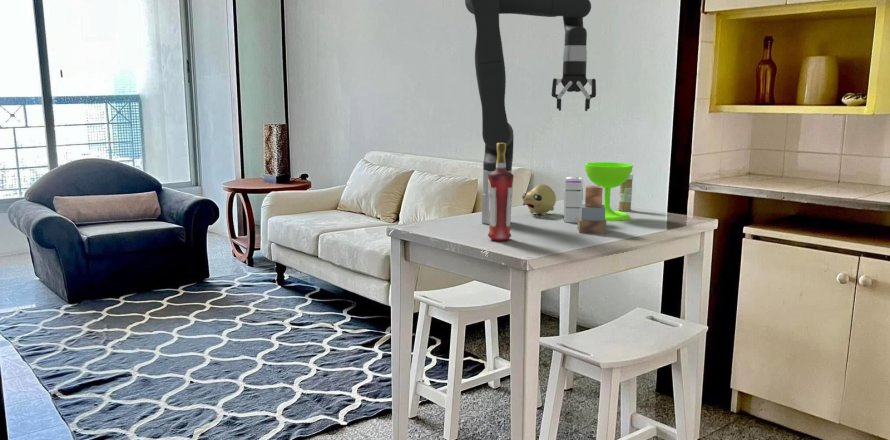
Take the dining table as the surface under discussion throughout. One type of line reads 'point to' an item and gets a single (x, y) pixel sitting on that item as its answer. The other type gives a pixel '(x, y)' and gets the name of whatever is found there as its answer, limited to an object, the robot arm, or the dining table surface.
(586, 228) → the walnut slab
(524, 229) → the dining table surface
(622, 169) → the wineglass
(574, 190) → the syrup box
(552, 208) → the beige round toy
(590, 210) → the slate block
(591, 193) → the terracotta cube
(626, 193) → the sprinkles bottle
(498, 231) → the liquor
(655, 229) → the dining table surface
